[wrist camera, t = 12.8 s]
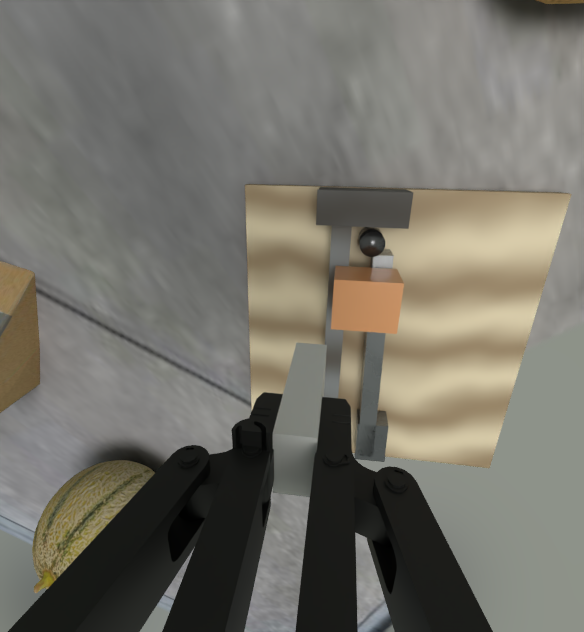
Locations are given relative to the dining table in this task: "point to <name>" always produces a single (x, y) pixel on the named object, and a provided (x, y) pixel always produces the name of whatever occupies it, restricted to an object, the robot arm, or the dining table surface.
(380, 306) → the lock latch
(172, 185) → the dining table surface
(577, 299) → the dining table surface
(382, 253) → the upper tong arm
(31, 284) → the sandwich container
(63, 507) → the cantaloupe
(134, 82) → the dining table surface
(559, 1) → the potato
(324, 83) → the dining table surface
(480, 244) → the tongs board
